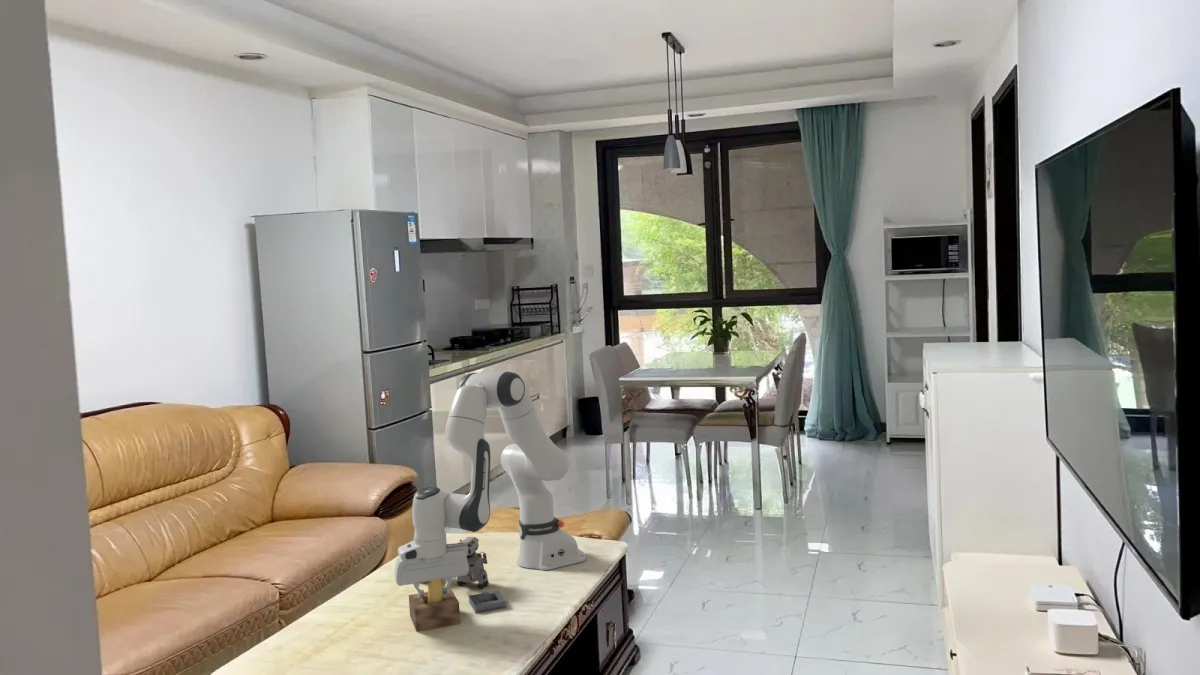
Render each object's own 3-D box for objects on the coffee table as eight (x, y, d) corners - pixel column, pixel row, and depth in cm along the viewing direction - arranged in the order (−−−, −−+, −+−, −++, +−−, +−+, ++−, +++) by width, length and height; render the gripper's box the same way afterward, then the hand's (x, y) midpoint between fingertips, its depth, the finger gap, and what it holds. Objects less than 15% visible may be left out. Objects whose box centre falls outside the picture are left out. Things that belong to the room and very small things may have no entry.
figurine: (446, 592, 270) (443, 544, 268) (467, 579, 280) (464, 532, 278) (471, 596, 266) (468, 547, 264) (492, 583, 276) (489, 535, 275)
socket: (452, 608, 257) (450, 588, 256) (460, 623, 246) (459, 602, 245) (409, 615, 253) (408, 595, 252) (416, 631, 242) (415, 610, 241)
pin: (441, 615, 252) (440, 574, 251) (443, 621, 248) (443, 578, 247) (426, 617, 250) (426, 575, 250) (429, 622, 247) (429, 580, 246)
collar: (499, 596, 264) (498, 590, 264) (506, 607, 256) (506, 601, 256) (469, 602, 261) (468, 595, 261) (475, 613, 253) (475, 606, 252)
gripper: (465, 538, 254) (467, 585, 255) (392, 548, 247) (395, 597, 248) (469, 544, 248) (472, 592, 249) (395, 555, 241) (398, 605, 242)
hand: (433, 595), depth 249 cm, fingers open, 5 cm apart
